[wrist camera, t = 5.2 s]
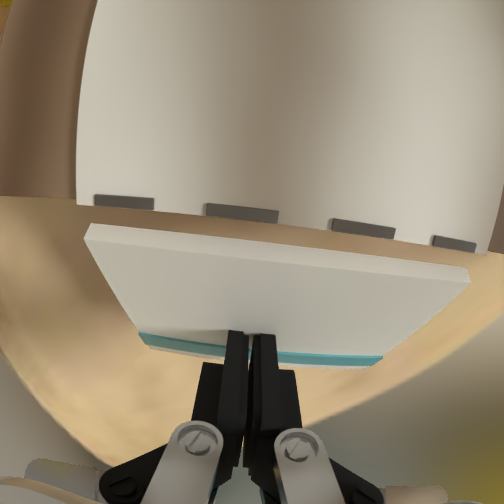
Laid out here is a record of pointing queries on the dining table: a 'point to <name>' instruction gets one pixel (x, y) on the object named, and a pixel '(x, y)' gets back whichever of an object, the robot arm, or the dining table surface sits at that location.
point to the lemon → (5, 3)
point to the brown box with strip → (264, 112)
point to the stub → (269, 295)
